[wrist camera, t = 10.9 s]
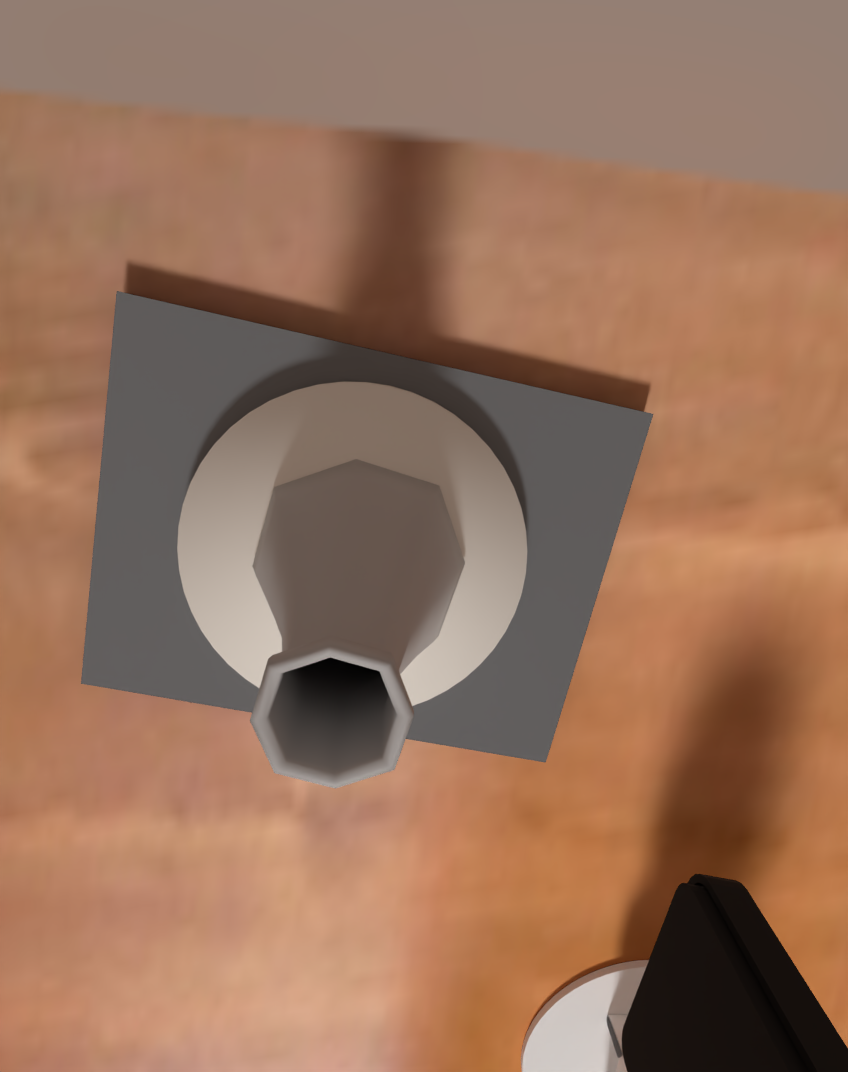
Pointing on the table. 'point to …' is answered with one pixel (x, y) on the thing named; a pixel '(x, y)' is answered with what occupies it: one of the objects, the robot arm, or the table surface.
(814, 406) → the table surface
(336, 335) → the table surface
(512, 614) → the saucer mat
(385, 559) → the flask
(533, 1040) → the white upright piece
